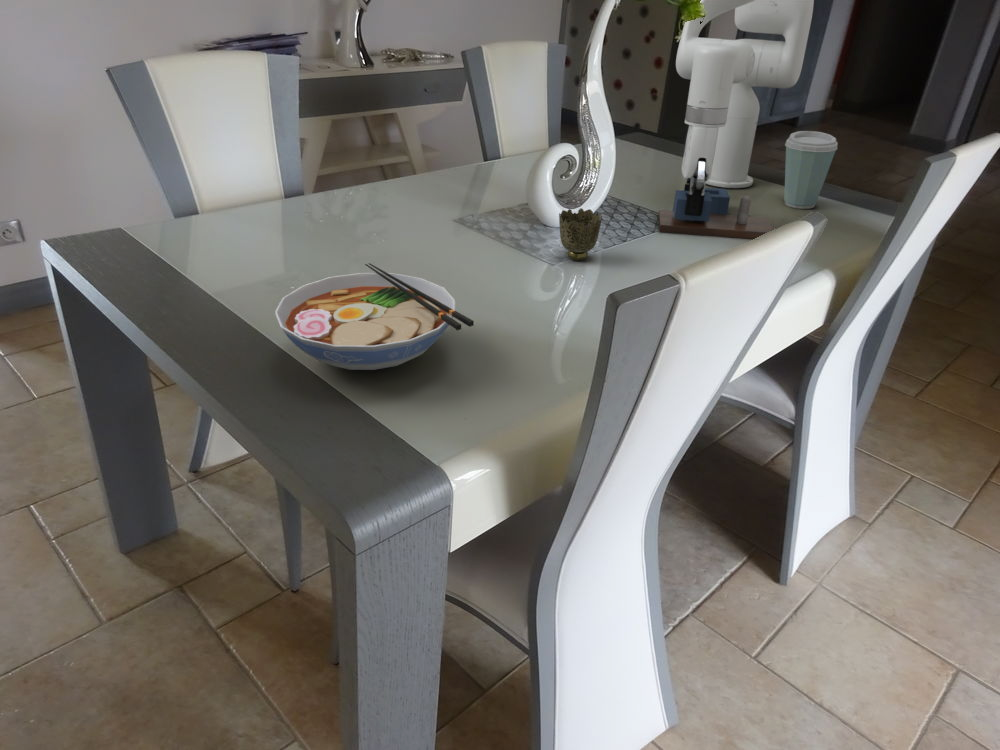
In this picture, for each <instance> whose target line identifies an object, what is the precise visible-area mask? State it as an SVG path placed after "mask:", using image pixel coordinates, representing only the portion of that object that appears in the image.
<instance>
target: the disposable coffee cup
mask: <svg viewBox="0 0 1000 750" xmlns="http://www.w3.org/2000/svg"><path fill="white" fill-rule="evenodd" d="M838 145H839V144H838V141H837V137H834V136H833V135H832V134H829V133H825V132H822V131H812V130H799V131H795V132H792V133H790V135H789V137H788V138H787V139H786V140H785V143H784V146H785V166H784V167H785V168H784V169H785V171H784V193H783V194H784V196H783V198H784V199H783V201H784V205H786V206H787V207H789V208H793V209H798V210H799V209H800V210H809V209H813V208H815V206H816V205H817V203H818V200H819V197H820V194H821V192H822V190H823V186H824V183H825V182H826V181H825V180H826V178H827V175H828V172H829V170H830V167H831V164H832V162H833V159H834V156H835V154H836V151H837V150H838Z"/></svg>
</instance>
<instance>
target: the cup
mask: <svg viewBox="0 0 1000 750" xmlns="http://www.w3.org/2000/svg"><path fill="white" fill-rule="evenodd" d="M558 219H559V221H558V223H559V224H558V225H559V236H560V241H561V244H562V246H563V247H564V249H565V250H567V253H566V255H567V257H568V259H570V260H571V261H576V262H578V261H579V262H580V261H581V262H582V261H584V260H586V259H587V258H588V257H589V252H590V251H591V250H592V249H594V248H595V246H596V244H597V242H598V238H599V235H600V230H601V225H602V221H603V215H602V214H601V213H600V214H599V212H598V211H596V212H593V211H592V209H589V208H588V209H586V210H584V208H581V207H580V208H578V211H577V212H573V210H572V209H571V208H569V209H567V210H564V209H563V210H561V212H559V213H558Z"/></svg>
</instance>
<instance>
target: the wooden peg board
mask: <svg viewBox="0 0 1000 750" xmlns="http://www.w3.org/2000/svg"><path fill="white" fill-rule="evenodd" d="M751 203H752V198H751V196H750V195H747V194H746V195H745V194H744V195H742V196H741V197H740V201H739V206H738V211H737V214H727V215H725V214H711V213H710V218H709V221H695V220H681V219H675V218H674V212H673V210H665V209H658V214H657V219H658V231H659V233H664V234H665V233H666V234H679V235H681V234H682V235H693V236H708V237H721V238H732V239H733V238H735V239H738V238H739V239H747V240H748V239H749V240H756V239H755V238H757V237H759V236H761V235H763V234H765V233H767V232H769V231H772V230H774V229H775V227H774V225H773V222H772V221H771V219H770V217H766V216H753V215H749V214H750V208H751Z"/></svg>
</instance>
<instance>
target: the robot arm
mask: <svg viewBox="0 0 1000 750" xmlns="http://www.w3.org/2000/svg"><path fill="white" fill-rule="evenodd" d="M700 3H702V5H704V9H705V14H706V16H705V17H703V18H704V20H703V18H696V19H695V20H691V21H687V22H684V25H683V28H682V32H681V36H680V38H679V43H678V48H677V51H676V57H675V58H676V59H675V69H676V72H677V74H678V75H679V76H680V77H681V78H682V79H684V80H690V82H689V90H688V96H687V102H686V110H685V117H684V124H686V125H688V129H687V134H686V139H685V145H684V151H683V157H682V163H681V173H682V177H683V179H684V180H685V184H684V188H683V191H689V194H687V200H686V207H685V215H691V216H701V215H702V209H703V203H704V197H705V195H704V192H705V188H706V185H708V186H712V187H717V188H722V189H744V188H749V187H751V186H752V185H753V183H754V178H753V177H752V176H750V175H749V169H750V168H749V167H750V163H751V159H752V158H751V157H752V152H753V148H754V142H755V138H756V131H757V126H758V121H759V115H760V110H761V108H760V102H759V99H758V96H757V95H756V93H755V91H754V89H753V88H756V87H759V88H760V87H761V88H771V89H790V88H793V87H794V86H795V85H796V84H797V82H798V81H799V79H800V76H801V72H802V69H803V63H804V59H805V54H806V51H807V50H806V49H807V45H808V39H809V35H810V29H811V25H812V18H813V13H814V3H815V0H701V1H700ZM704 9H703V13H704ZM732 10H734V25H735V27H736V28H737V29H738V30H739V31H742V32H746V33H754V34H755V33H757V34H771V35H781V36H782V37H784V41H783V40H769V39H759V38H758V39H756V38H738V39H725V38H716V37H715V38H713V37H699V36H700V33H701V32H702V30H703V28H704V27H705V26H706V25H707V24H708V23H709V22H710V21H712V20H714V18H716V17H718V16H720V15H722V14H724V13H727V12H730V11H732ZM706 11H707V13H706ZM700 21H701V22H702V21H703V22H702V23H701V24H700Z"/></svg>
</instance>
